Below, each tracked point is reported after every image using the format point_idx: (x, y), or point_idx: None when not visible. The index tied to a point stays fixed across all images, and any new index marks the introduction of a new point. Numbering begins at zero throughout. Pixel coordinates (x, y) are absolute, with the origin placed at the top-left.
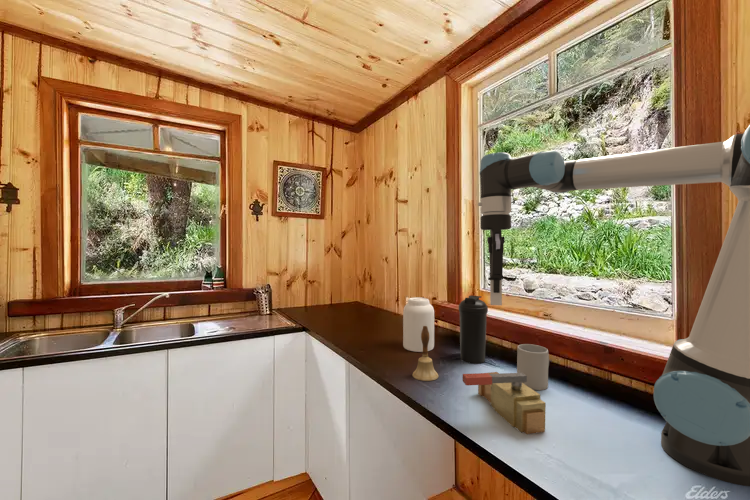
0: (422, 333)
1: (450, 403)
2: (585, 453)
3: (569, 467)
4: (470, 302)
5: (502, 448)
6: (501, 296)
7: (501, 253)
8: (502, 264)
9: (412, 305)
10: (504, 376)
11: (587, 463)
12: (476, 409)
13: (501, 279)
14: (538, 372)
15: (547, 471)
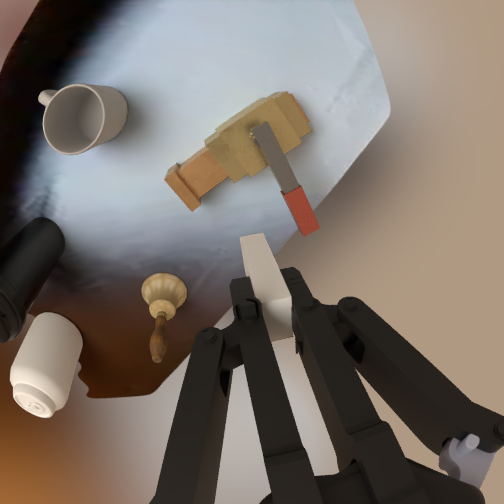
0: (165, 351)
1: (247, 231)
2: (316, 54)
3: (350, 81)
4: (6, 323)
5: (340, 151)
6: (270, 251)
7: (455, 393)
8: (408, 344)
9: (55, 404)
10: (287, 164)
11: (336, 59)
12: (251, 192)
13: (314, 298)
14: (116, 100)
15: (364, 107)
